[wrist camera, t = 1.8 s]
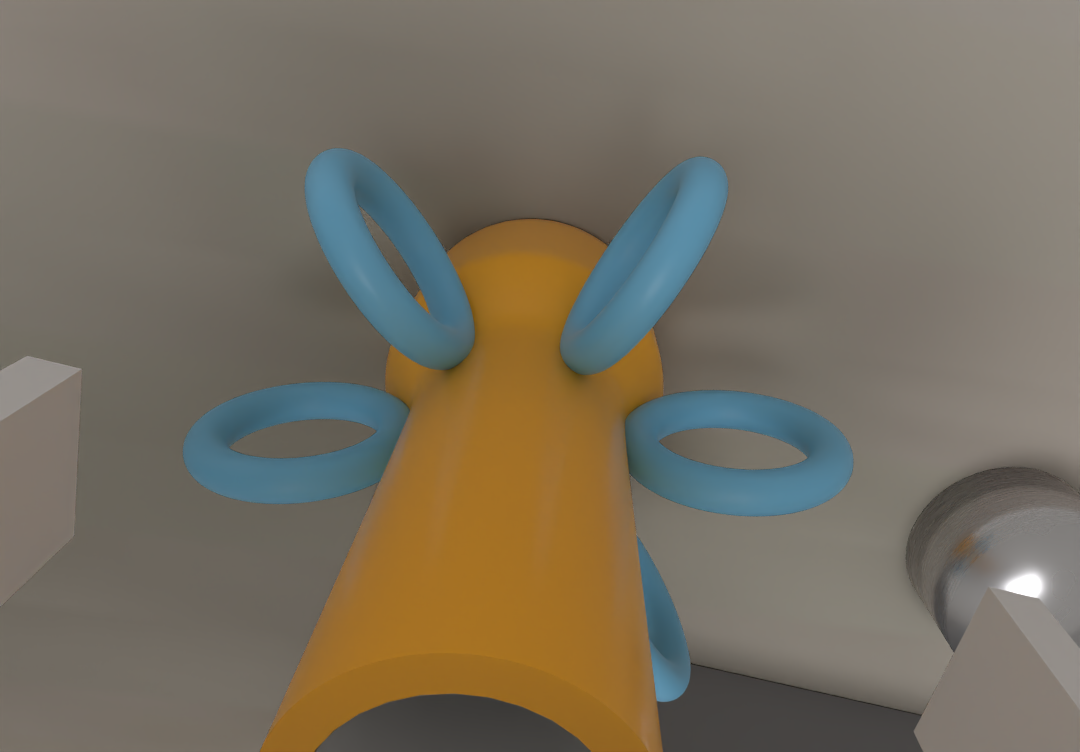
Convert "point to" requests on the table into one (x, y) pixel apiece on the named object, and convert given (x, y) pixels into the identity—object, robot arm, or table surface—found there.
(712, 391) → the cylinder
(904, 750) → the base
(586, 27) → the table surface
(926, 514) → the cylinder
